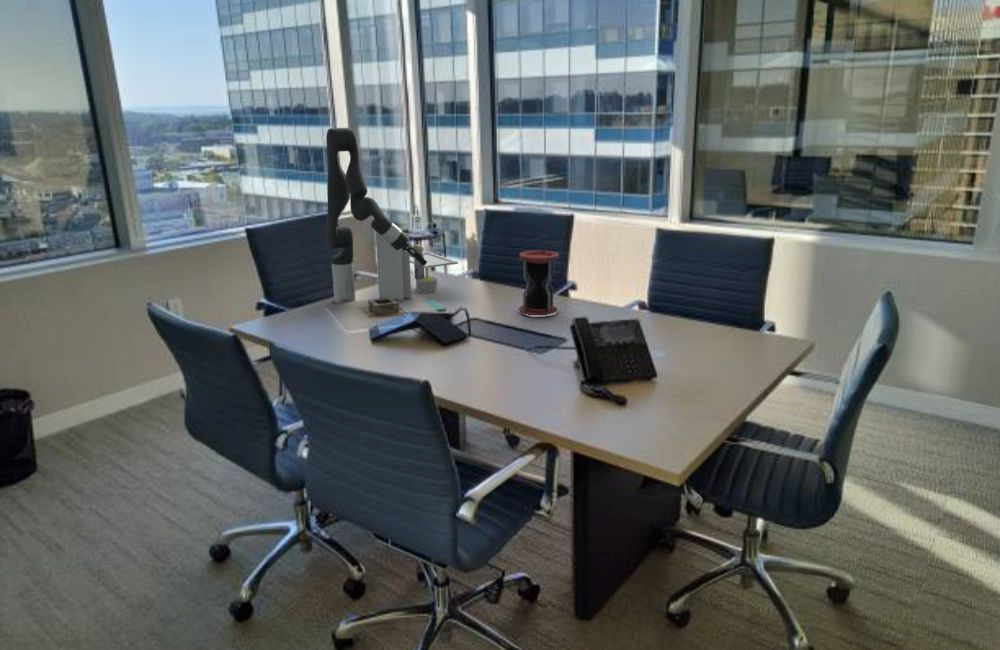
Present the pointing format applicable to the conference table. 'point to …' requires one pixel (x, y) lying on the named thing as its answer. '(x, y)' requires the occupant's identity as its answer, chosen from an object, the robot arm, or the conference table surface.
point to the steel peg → (418, 266)
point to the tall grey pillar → (392, 270)
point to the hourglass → (538, 282)
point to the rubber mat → (436, 305)
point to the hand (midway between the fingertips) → (423, 262)
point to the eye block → (383, 308)
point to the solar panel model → (428, 282)
